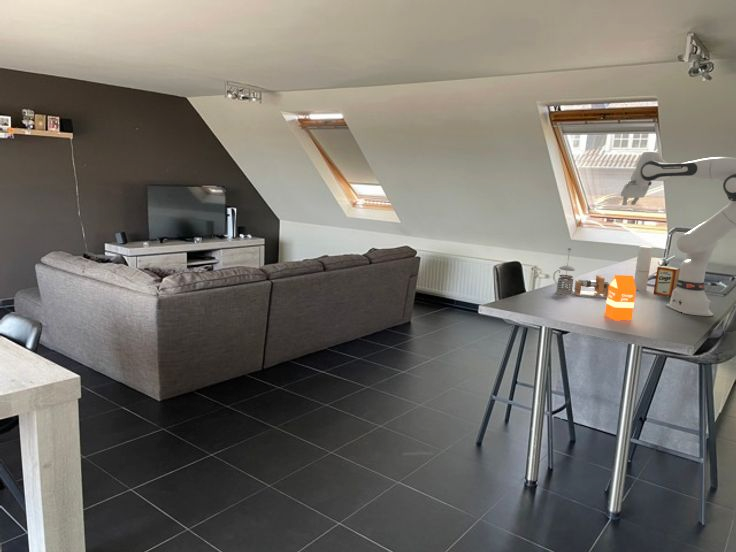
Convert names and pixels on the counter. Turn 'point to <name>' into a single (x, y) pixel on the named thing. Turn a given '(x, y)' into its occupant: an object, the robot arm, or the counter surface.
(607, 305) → the orange juice
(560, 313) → the counter surface
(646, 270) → the cylindrical container
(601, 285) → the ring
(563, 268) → the french press
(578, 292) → the pipe rig
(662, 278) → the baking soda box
